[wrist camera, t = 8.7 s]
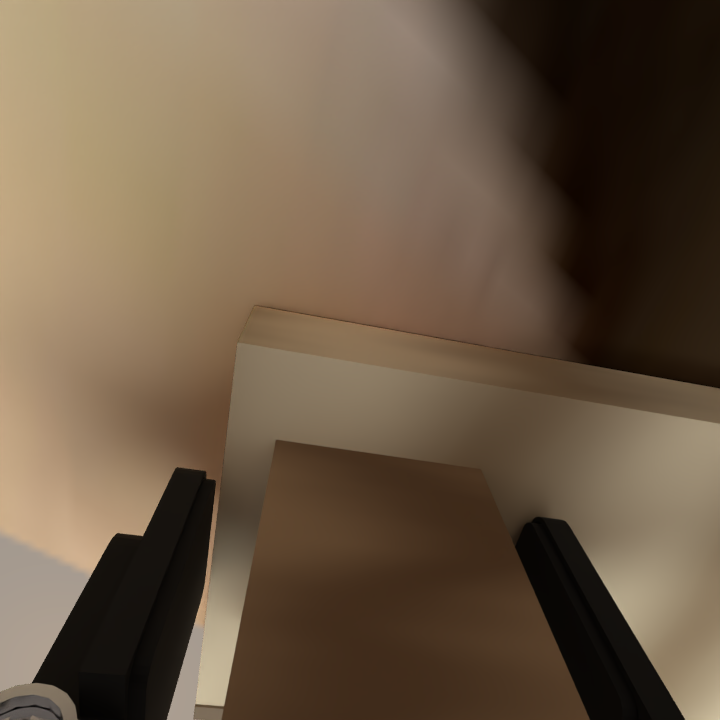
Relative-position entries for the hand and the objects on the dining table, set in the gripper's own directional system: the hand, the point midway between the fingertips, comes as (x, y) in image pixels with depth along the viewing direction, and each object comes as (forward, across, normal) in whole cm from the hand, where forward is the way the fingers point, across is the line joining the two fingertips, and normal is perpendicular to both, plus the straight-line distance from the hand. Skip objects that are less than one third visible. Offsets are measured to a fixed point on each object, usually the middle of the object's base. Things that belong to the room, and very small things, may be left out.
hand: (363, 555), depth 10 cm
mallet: (0, 0, +3) cm, 3 cm away
